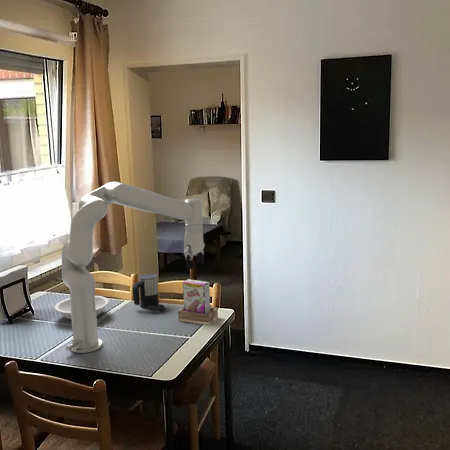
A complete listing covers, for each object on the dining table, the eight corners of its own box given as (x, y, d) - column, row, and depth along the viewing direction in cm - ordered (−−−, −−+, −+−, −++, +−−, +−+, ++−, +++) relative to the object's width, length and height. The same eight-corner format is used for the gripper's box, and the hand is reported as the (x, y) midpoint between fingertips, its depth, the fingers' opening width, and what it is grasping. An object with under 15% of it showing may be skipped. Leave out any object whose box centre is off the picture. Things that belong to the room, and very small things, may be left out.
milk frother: (146, 301, 263) (144, 272, 260) (175, 304, 257) (173, 275, 254) (131, 311, 250) (129, 280, 247) (160, 314, 244) (158, 283, 241)
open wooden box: (208, 324, 230) (208, 314, 229) (178, 320, 236) (177, 310, 235) (217, 317, 238) (217, 308, 237) (188, 313, 244) (187, 304, 243)
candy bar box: (183, 317, 237) (182, 281, 234) (189, 313, 241) (188, 278, 238) (205, 321, 231) (203, 284, 228) (211, 317, 236) (209, 281, 233)
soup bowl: (102, 326, 232) (101, 312, 230) (48, 328, 232) (46, 313, 231) (115, 307, 255) (114, 294, 254) (65, 309, 256) (64, 295, 255)
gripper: (195, 223, 238) (196, 260, 241) (176, 230, 223) (177, 270, 226) (210, 224, 235) (211, 262, 238) (192, 231, 220) (193, 271, 223)
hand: (195, 266), depth 232 cm, fingers open, 9 cm apart
